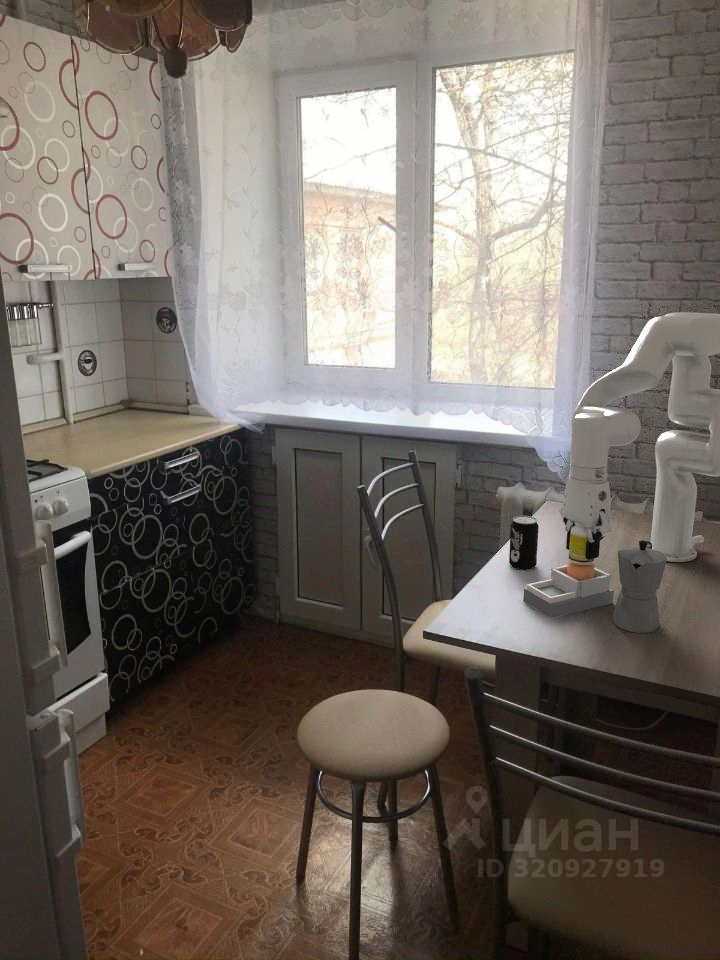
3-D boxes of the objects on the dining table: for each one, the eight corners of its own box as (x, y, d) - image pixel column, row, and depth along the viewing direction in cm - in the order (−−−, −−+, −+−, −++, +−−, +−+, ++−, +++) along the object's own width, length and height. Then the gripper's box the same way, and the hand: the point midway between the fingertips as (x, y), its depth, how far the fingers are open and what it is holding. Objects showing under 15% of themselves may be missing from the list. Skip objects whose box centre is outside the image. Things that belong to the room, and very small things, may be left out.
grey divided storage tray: (582, 587, 178) (584, 560, 176) (612, 603, 169) (615, 575, 167) (523, 600, 171) (524, 573, 169) (551, 618, 162) (553, 589, 161)
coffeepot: (654, 641, 152) (663, 555, 147) (605, 631, 156) (612, 547, 151) (666, 611, 165) (674, 531, 160) (620, 602, 169) (627, 524, 164)
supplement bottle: (591, 567, 165) (594, 523, 163) (565, 563, 168) (568, 520, 165) (596, 559, 170) (599, 516, 167) (571, 555, 172) (574, 513, 170)
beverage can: (536, 571, 187) (539, 524, 183) (508, 570, 188) (510, 522, 185) (536, 561, 193) (538, 515, 190) (509, 560, 194) (511, 514, 191)
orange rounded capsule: (581, 578, 174) (582, 557, 172) (598, 587, 169) (600, 565, 168) (561, 583, 172) (562, 561, 170) (578, 592, 167) (579, 570, 165)
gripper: (631, 480, 157) (624, 563, 162) (574, 461, 172) (569, 538, 177) (602, 484, 154) (596, 569, 159) (547, 465, 169) (542, 543, 174)
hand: (582, 552), depth 168 cm, fingers closed on supplement bottle, 5 cm apart
